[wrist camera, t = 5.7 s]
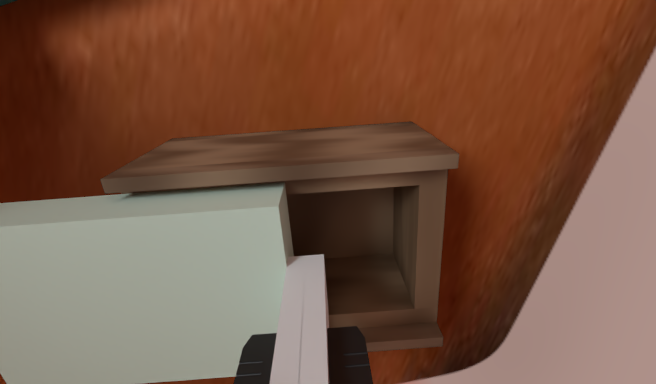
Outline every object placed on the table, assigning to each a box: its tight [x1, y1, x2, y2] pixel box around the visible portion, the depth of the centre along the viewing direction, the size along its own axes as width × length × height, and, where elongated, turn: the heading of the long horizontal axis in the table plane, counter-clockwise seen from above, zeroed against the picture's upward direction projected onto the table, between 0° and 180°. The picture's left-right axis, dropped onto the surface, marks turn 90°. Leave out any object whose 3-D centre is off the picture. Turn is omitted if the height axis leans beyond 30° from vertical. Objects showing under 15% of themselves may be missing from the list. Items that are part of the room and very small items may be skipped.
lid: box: [0, 182, 294, 384], centre depth 15 cm, size 13×8×2 cm, turn 94°
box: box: [100, 122, 459, 352], centre depth 18 cm, size 14×10×7 cm
